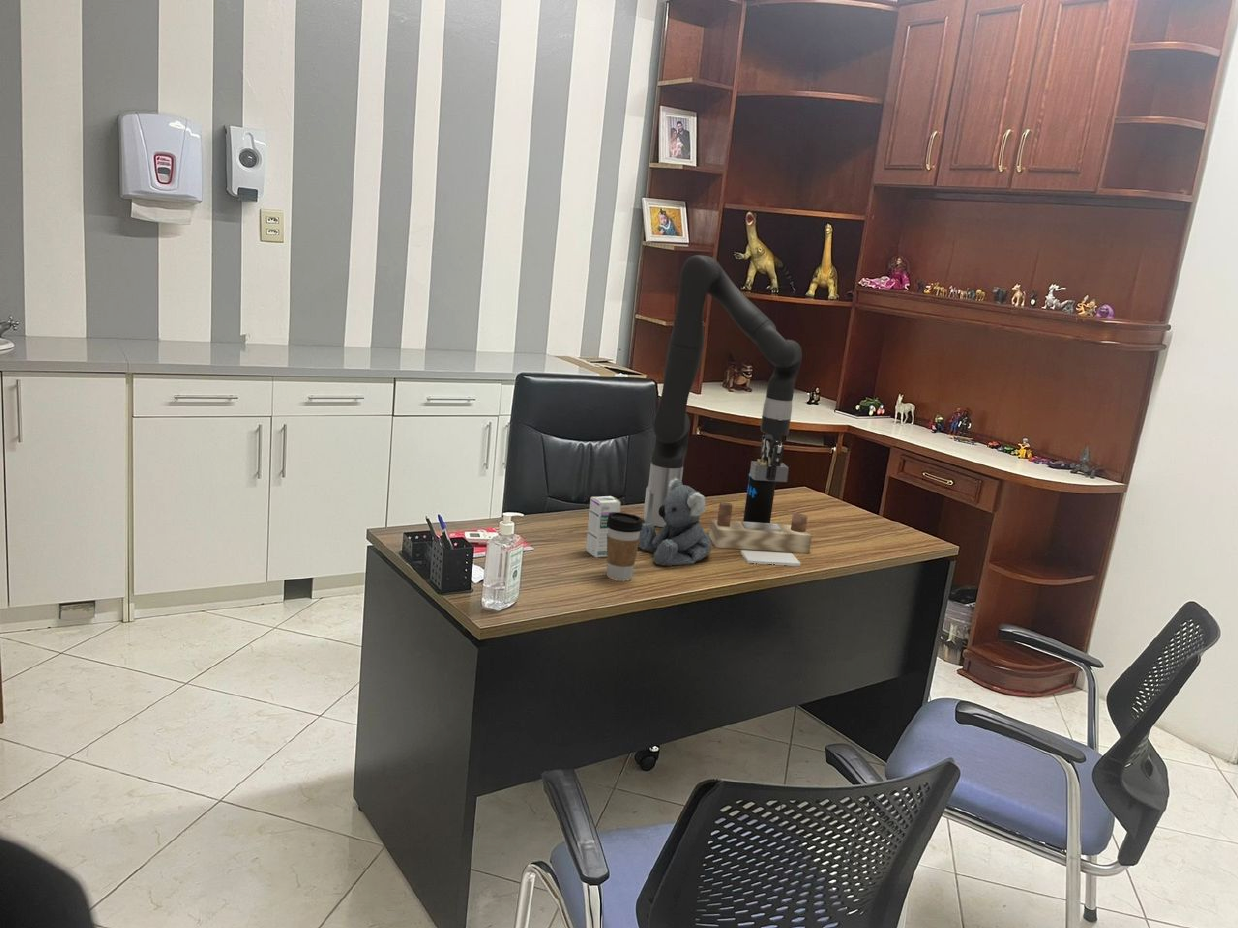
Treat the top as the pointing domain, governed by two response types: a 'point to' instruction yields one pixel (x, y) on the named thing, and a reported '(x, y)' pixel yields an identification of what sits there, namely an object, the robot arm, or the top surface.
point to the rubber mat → (770, 558)
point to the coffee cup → (622, 544)
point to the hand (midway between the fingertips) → (767, 477)
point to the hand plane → (759, 533)
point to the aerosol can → (759, 501)
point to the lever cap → (760, 471)
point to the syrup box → (600, 524)
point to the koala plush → (678, 528)
